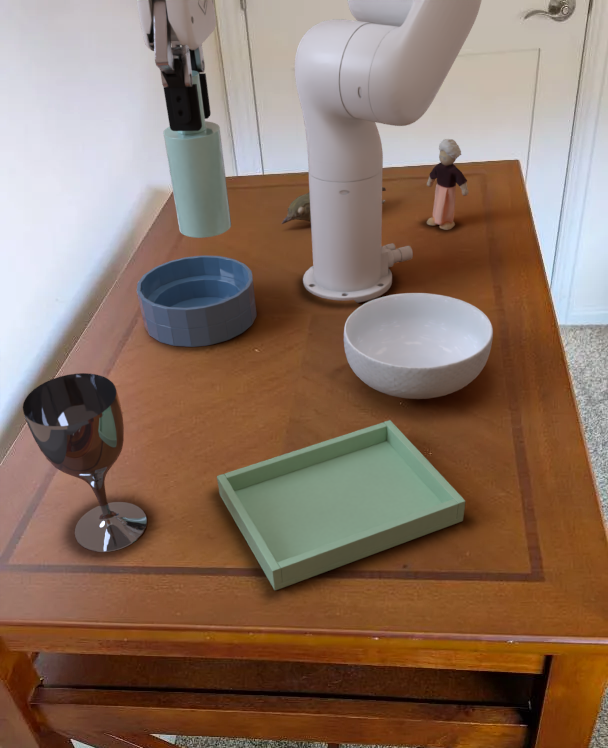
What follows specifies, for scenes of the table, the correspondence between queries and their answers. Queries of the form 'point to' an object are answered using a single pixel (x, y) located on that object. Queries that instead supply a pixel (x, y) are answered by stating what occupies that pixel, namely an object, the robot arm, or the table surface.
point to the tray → (337, 502)
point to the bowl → (197, 300)
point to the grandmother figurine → (446, 185)
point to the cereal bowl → (417, 344)
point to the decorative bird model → (302, 208)
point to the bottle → (198, 177)
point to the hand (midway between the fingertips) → (190, 122)
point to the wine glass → (86, 450)
